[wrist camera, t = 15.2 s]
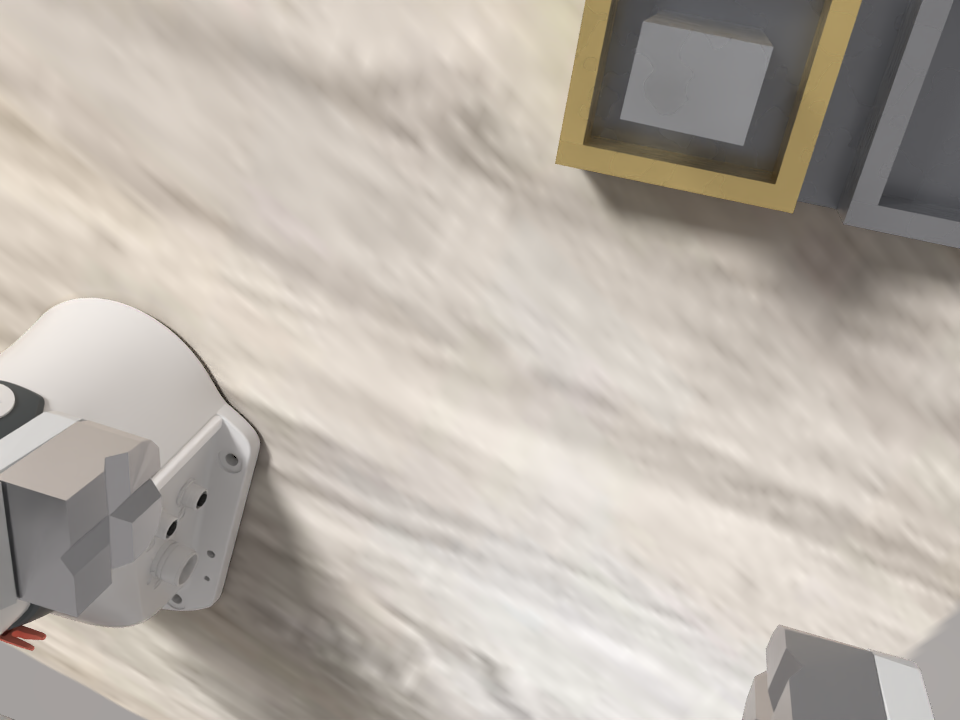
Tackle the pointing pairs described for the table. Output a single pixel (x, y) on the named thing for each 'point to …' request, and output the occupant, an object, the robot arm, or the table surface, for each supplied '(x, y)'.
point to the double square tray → (795, 111)
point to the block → (697, 76)
